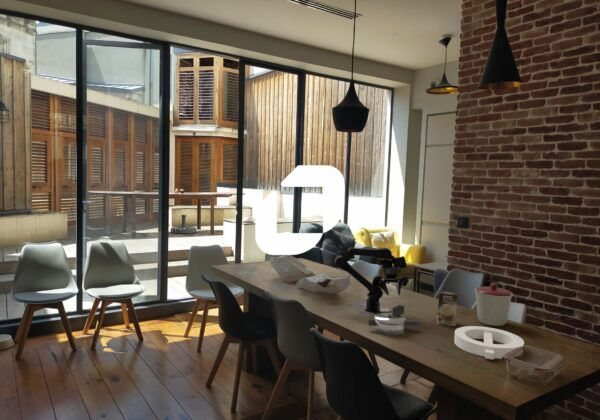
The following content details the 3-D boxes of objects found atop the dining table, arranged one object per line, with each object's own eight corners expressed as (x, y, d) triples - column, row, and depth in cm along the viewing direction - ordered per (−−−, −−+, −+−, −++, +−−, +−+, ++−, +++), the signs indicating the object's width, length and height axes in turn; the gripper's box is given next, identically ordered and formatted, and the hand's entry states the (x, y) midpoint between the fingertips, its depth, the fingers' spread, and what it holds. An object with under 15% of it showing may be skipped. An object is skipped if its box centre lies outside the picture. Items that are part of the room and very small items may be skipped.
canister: (481, 316, 241) (483, 278, 239) (516, 324, 228) (519, 284, 227) (467, 322, 228) (469, 282, 227) (502, 331, 215) (505, 289, 214)
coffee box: (436, 324, 223) (438, 293, 222) (436, 320, 229) (438, 290, 228) (455, 326, 220) (457, 295, 219) (455, 323, 226) (457, 292, 225)
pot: (364, 325, 216) (364, 315, 216) (411, 325, 219) (412, 315, 219) (372, 335, 203) (372, 324, 202) (422, 335, 206) (423, 324, 205)
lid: (367, 319, 210) (368, 309, 210) (388, 311, 224) (389, 302, 224) (395, 326, 200) (395, 316, 200) (415, 318, 214) (415, 308, 214)
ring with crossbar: (489, 363, 176) (490, 351, 175) (440, 339, 201) (441, 329, 201) (538, 354, 187) (539, 343, 186) (486, 333, 212) (487, 323, 212)
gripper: (374, 261, 233) (380, 286, 222) (408, 261, 235) (415, 286, 225) (370, 272, 241) (375, 297, 230) (402, 273, 243) (409, 298, 233)
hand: (393, 294), depth 229 cm, fingers open, 6 cm apart
